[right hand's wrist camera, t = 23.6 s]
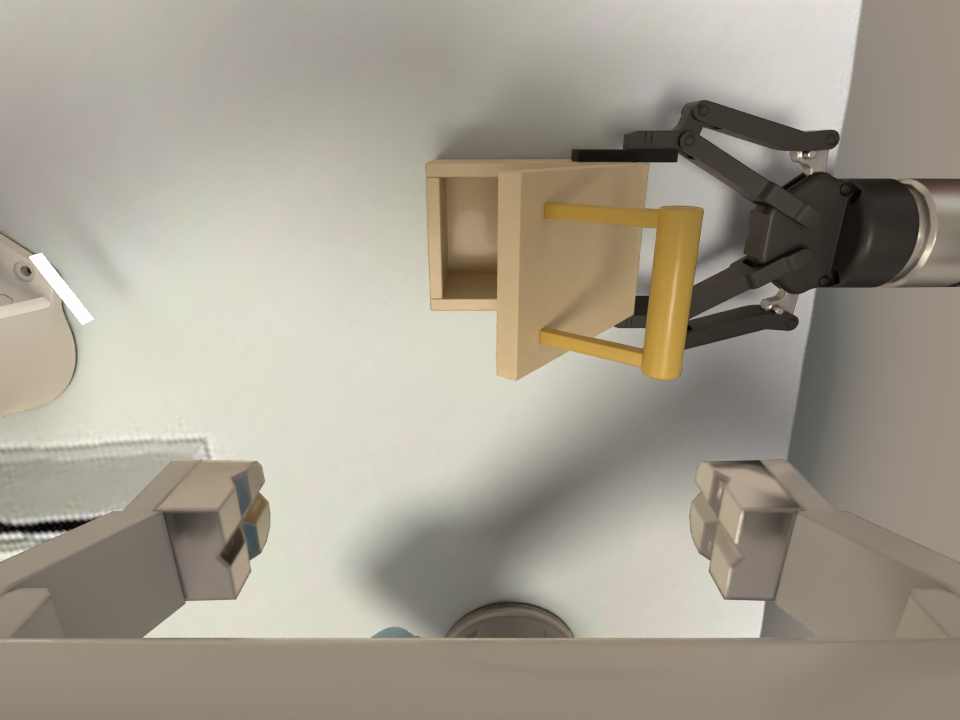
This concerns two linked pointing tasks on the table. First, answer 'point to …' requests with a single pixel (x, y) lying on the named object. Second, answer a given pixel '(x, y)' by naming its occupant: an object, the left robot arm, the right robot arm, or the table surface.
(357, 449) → the table surface
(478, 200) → the chest
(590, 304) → the lid
